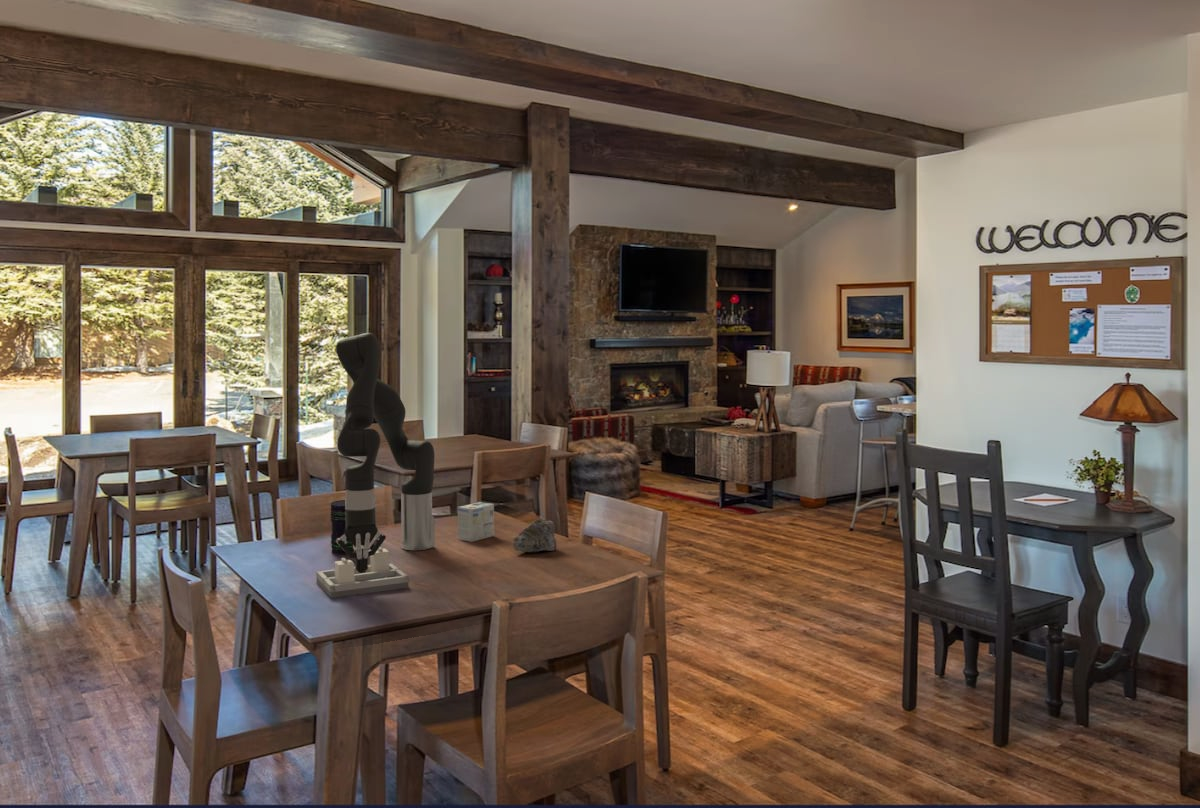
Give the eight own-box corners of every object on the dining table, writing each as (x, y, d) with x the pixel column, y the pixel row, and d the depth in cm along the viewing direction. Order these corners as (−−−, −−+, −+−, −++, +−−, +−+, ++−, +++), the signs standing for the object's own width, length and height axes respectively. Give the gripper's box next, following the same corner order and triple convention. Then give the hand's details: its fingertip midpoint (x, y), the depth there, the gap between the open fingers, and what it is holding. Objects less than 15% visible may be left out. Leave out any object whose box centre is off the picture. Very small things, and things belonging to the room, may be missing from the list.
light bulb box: (479, 533, 306) (479, 501, 305) (495, 536, 302) (494, 503, 301) (456, 539, 298) (456, 506, 297) (472, 542, 294) (472, 508, 293)
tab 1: (350, 582, 241) (350, 556, 240) (354, 586, 237) (354, 560, 237) (335, 584, 239) (334, 558, 238) (338, 588, 235) (338, 561, 235)
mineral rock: (512, 555, 277) (512, 522, 276) (515, 547, 288) (514, 515, 287) (555, 555, 278) (555, 522, 277) (556, 547, 288) (556, 515, 287)
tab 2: (384, 569, 253) (384, 545, 253) (389, 573, 250) (388, 548, 249) (370, 571, 251) (370, 547, 251) (374, 575, 248) (374, 550, 247)
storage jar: (324, 553, 278) (323, 504, 277) (344, 546, 287) (343, 498, 286) (351, 556, 274) (350, 506, 273) (371, 549, 283) (370, 501, 282)
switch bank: (390, 573, 256) (390, 562, 256) (408, 587, 242) (408, 576, 242) (316, 582, 246) (316, 571, 246) (330, 598, 233) (330, 586, 232)
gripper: (381, 501, 245) (382, 565, 246) (330, 506, 238) (332, 572, 240) (389, 506, 238) (391, 572, 240) (338, 511, 232) (339, 579, 233)
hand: (361, 572), depth 240 cm, fingers closed
